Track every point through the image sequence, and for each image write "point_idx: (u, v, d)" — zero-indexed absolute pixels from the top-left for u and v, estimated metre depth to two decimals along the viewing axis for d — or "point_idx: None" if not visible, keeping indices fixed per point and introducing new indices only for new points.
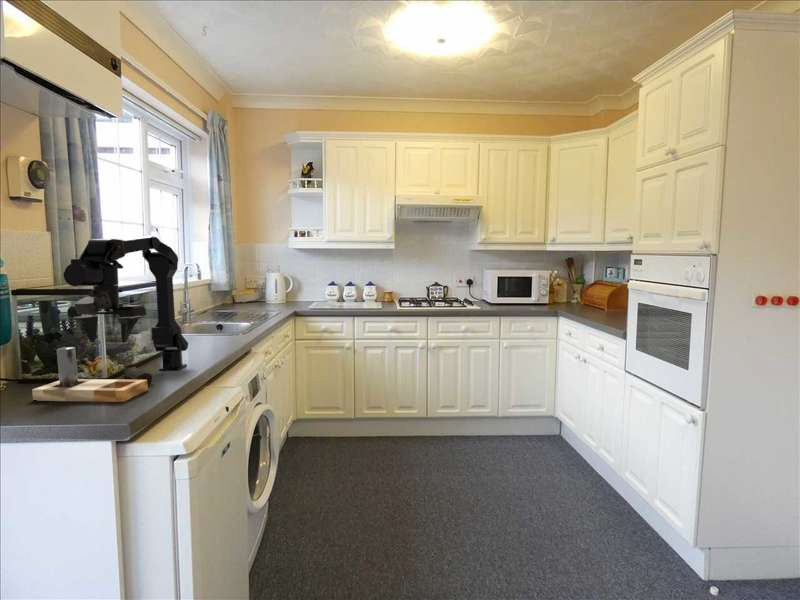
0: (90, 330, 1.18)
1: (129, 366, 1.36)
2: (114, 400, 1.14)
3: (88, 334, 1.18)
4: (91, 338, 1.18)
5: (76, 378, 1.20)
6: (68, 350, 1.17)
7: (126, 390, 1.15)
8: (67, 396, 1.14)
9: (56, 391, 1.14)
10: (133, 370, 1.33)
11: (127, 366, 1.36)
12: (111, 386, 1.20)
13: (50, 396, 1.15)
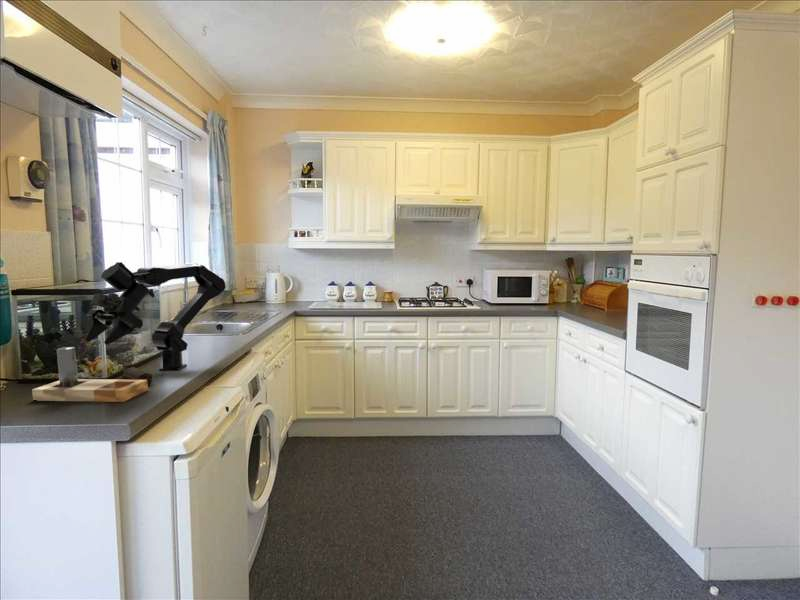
0: (92, 331, 1.28)
1: (128, 366, 1.36)
2: (114, 400, 1.14)
3: (88, 333, 1.28)
4: (87, 337, 1.27)
5: (76, 378, 1.20)
6: (68, 350, 1.17)
7: (126, 390, 1.15)
8: (67, 396, 1.14)
9: (56, 391, 1.14)
10: (132, 370, 1.33)
11: (126, 366, 1.36)
12: (111, 386, 1.20)
13: (50, 396, 1.15)
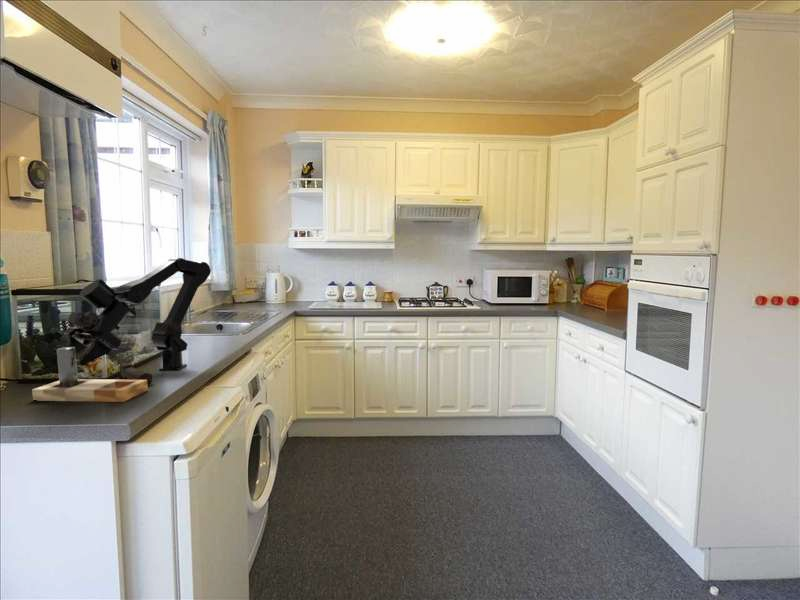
0: None
1: (126, 367, 1.35)
2: (114, 400, 1.14)
3: None
4: None
5: (76, 378, 1.20)
6: (68, 350, 1.17)
7: (126, 390, 1.15)
8: (67, 396, 1.14)
9: (56, 391, 1.14)
10: (131, 370, 1.32)
11: (124, 367, 1.35)
12: (111, 386, 1.20)
13: (50, 396, 1.15)
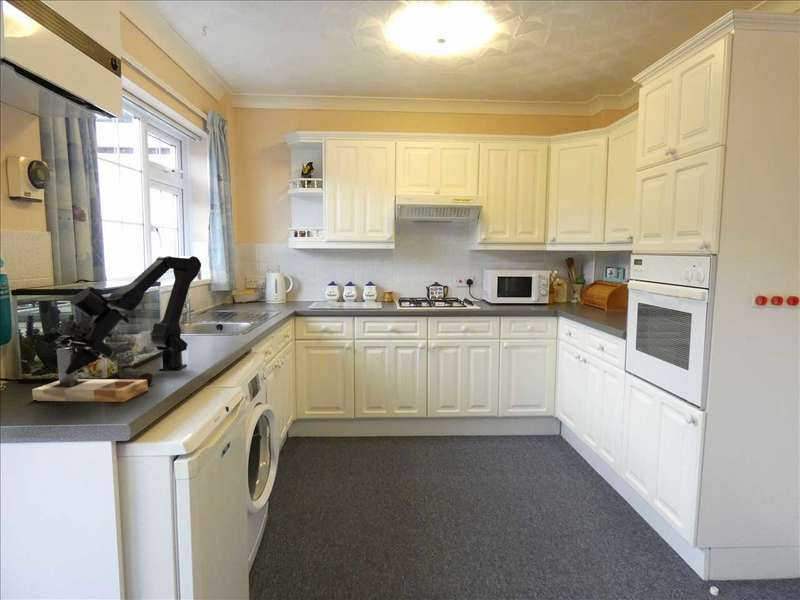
0: None
1: (124, 367, 1.35)
2: (114, 400, 1.14)
3: None
4: None
5: (76, 378, 1.20)
6: (68, 350, 1.17)
7: (126, 390, 1.15)
8: (67, 396, 1.14)
9: (56, 391, 1.14)
10: (130, 371, 1.32)
11: (122, 367, 1.35)
12: (111, 386, 1.20)
13: (50, 396, 1.15)
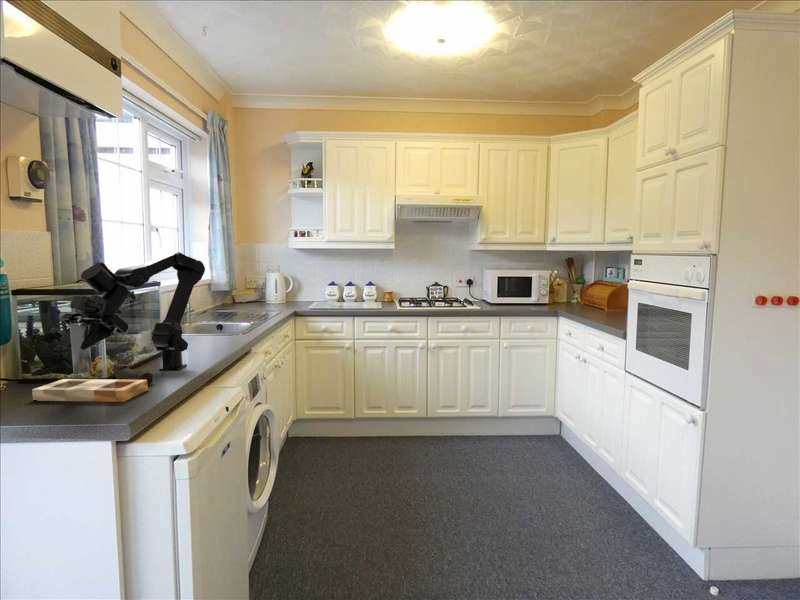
0: None
1: (122, 367, 1.34)
2: (114, 400, 1.14)
3: None
4: None
5: (89, 354, 1.18)
6: (82, 325, 1.16)
7: (126, 390, 1.15)
8: (67, 396, 1.14)
9: (56, 391, 1.14)
10: (129, 371, 1.32)
11: (119, 367, 1.34)
12: (111, 386, 1.20)
13: (50, 396, 1.15)
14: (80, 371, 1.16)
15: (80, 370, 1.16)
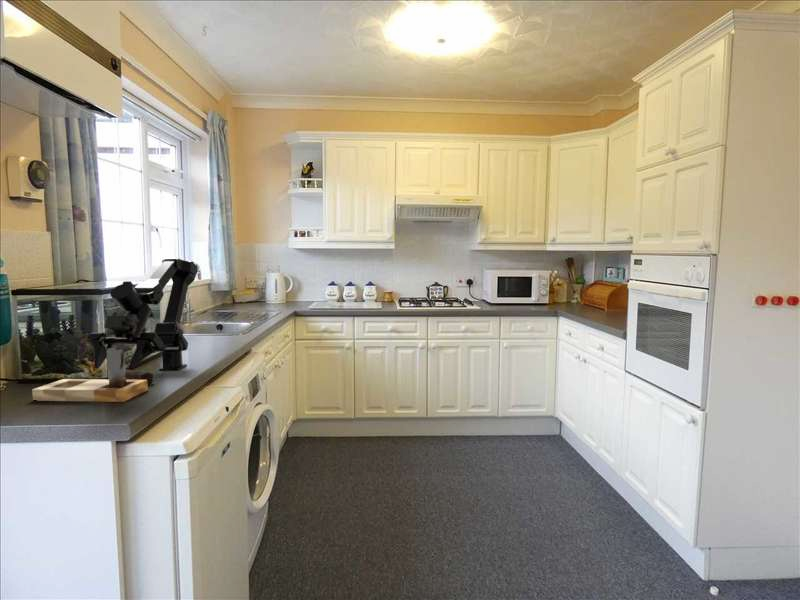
0: (100, 356, 1.18)
1: None
2: (114, 400, 1.14)
3: (96, 358, 1.17)
4: (97, 363, 1.17)
5: (125, 378, 1.19)
6: (121, 350, 1.17)
7: (126, 390, 1.15)
8: (67, 396, 1.14)
9: (56, 391, 1.14)
10: (127, 371, 1.31)
11: None
12: None
13: (50, 396, 1.15)
14: None
15: None
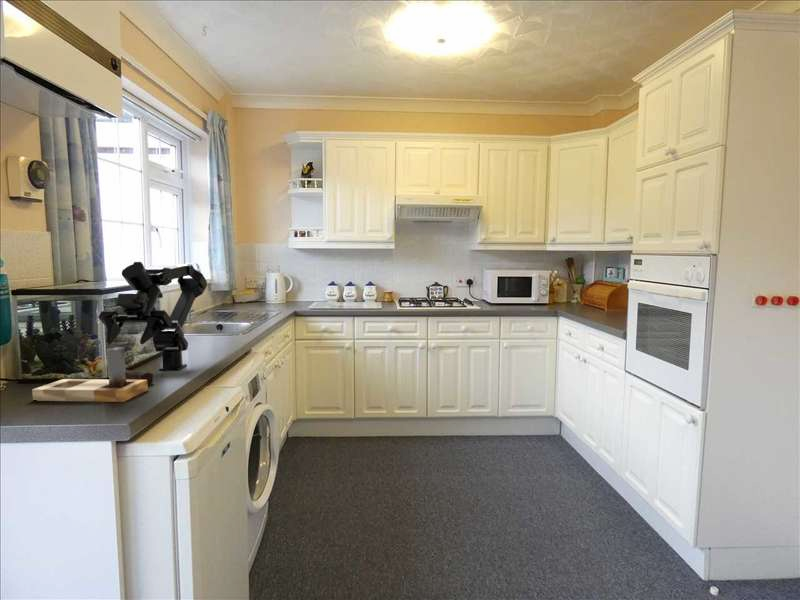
0: (112, 332, 1.24)
1: None
2: (114, 400, 1.14)
3: (108, 335, 1.23)
4: (109, 339, 1.22)
5: (125, 378, 1.20)
6: (121, 350, 1.17)
7: (126, 390, 1.15)
8: (67, 396, 1.14)
9: (56, 391, 1.14)
10: (126, 372, 1.31)
11: None
12: None
13: (50, 396, 1.15)
14: None
15: None
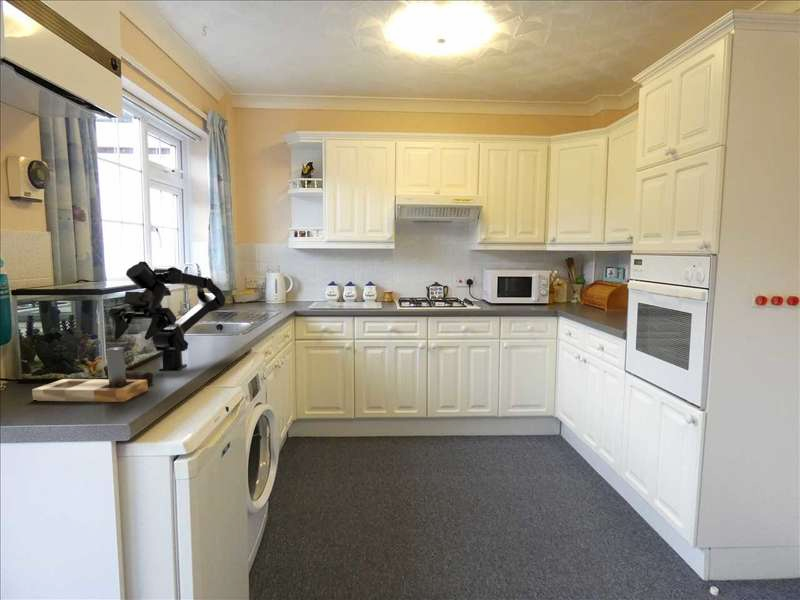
0: (119, 328, 1.30)
1: None
2: (114, 400, 1.14)
3: (116, 330, 1.29)
4: (117, 334, 1.29)
5: (125, 378, 1.20)
6: (121, 350, 1.17)
7: (126, 390, 1.15)
8: (67, 396, 1.14)
9: (56, 391, 1.14)
10: None
11: None
12: None
13: (50, 396, 1.15)
14: None
15: None
